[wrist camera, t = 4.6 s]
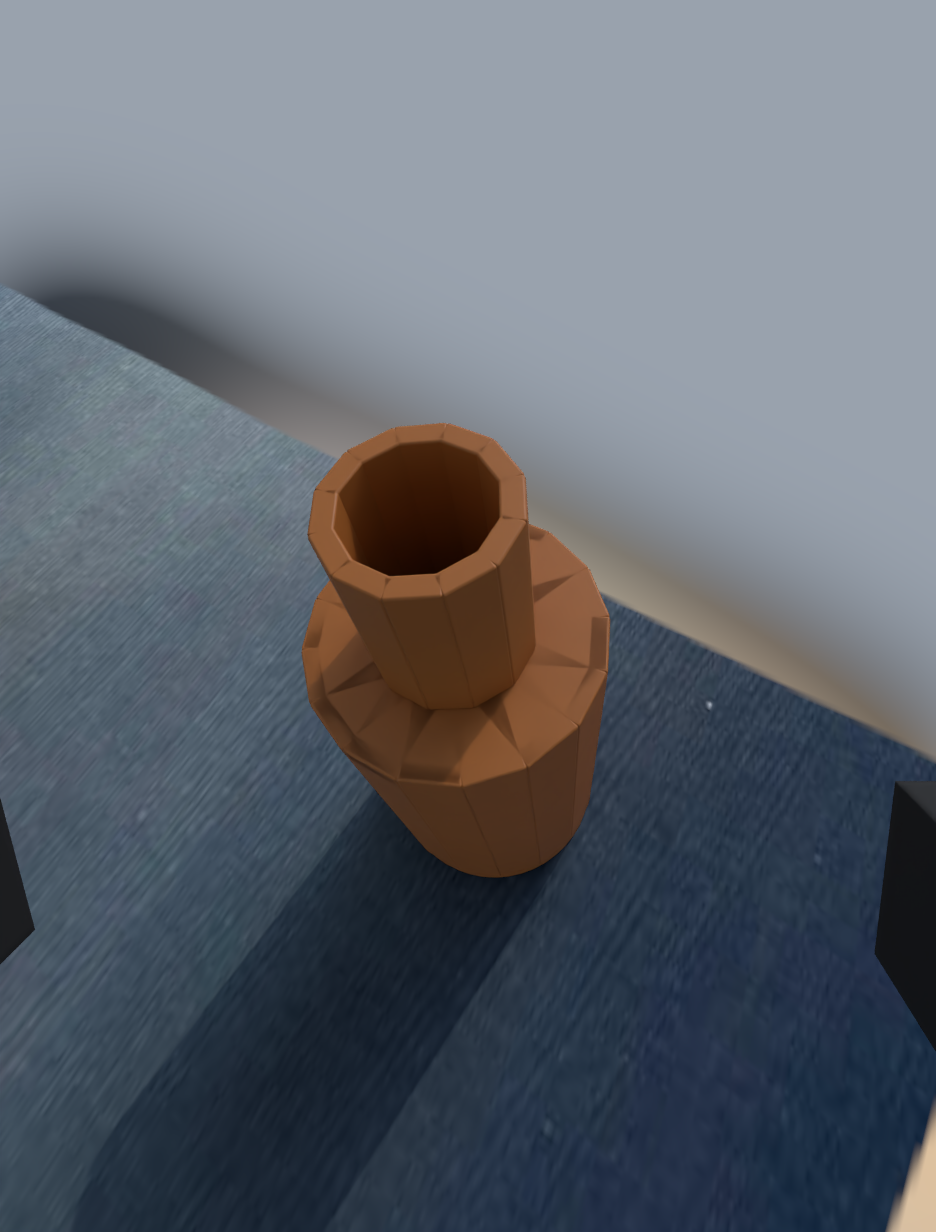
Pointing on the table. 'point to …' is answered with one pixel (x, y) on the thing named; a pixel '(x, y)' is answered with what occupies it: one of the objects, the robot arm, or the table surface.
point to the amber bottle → (456, 647)
